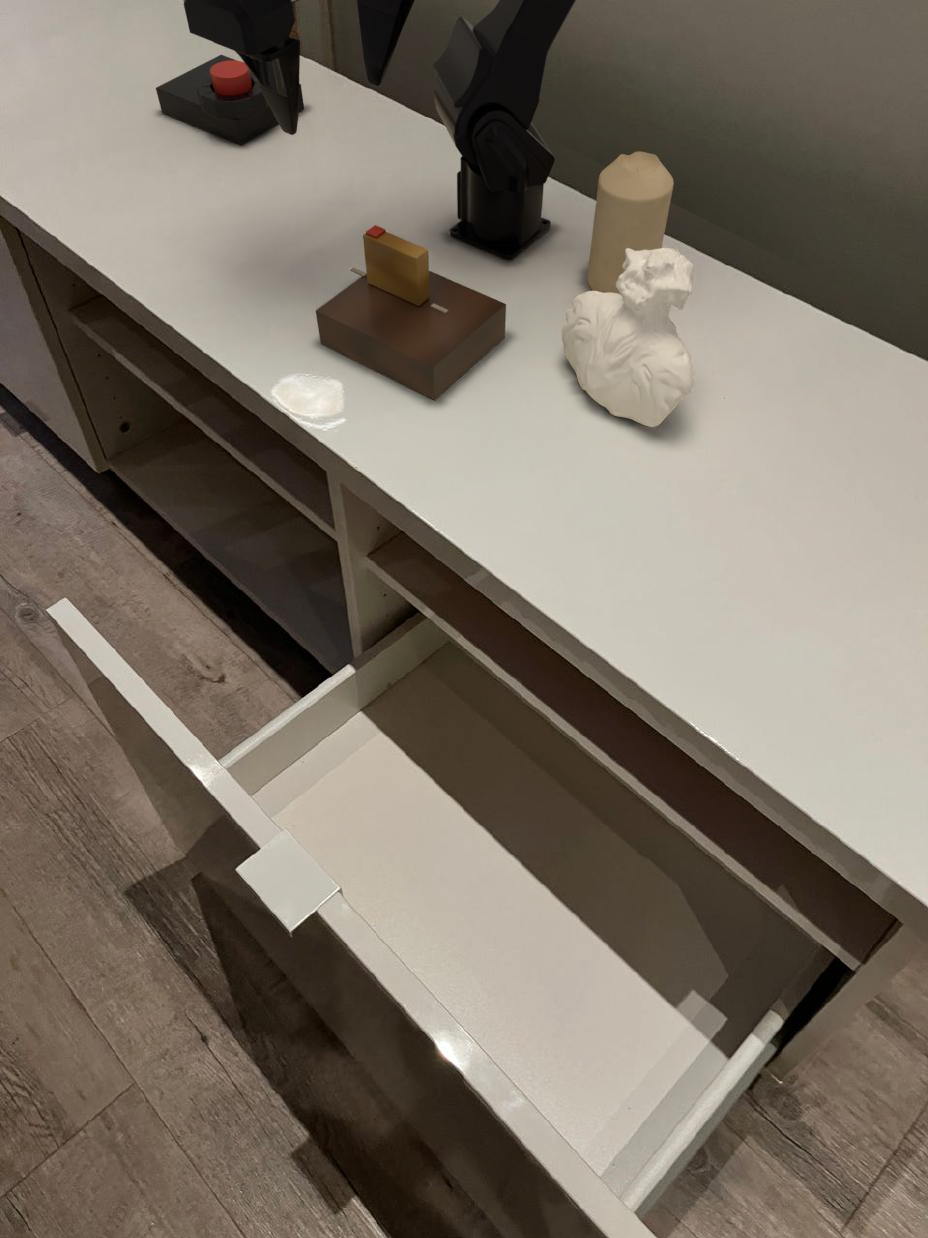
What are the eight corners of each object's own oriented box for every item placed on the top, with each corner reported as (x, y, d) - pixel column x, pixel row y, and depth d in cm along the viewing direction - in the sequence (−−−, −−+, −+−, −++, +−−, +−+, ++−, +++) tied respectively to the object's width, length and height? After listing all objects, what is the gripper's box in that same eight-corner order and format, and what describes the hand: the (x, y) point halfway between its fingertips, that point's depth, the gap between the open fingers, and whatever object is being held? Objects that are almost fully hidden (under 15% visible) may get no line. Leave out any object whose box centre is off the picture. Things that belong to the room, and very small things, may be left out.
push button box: (310, 111, 92) (304, 68, 89) (241, 151, 88) (232, 107, 84) (226, 78, 96) (217, 36, 93) (156, 115, 92) (144, 72, 88)
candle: (632, 310, 73) (653, 188, 65) (573, 285, 75) (587, 163, 67) (667, 277, 76) (691, 156, 67) (609, 254, 77) (626, 133, 69)
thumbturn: (430, 297, 69) (428, 245, 66) (418, 306, 68) (416, 254, 65) (378, 274, 71) (374, 222, 67) (367, 283, 70) (361, 231, 67)
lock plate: (505, 337, 71) (506, 301, 68) (434, 400, 67) (433, 365, 64) (383, 282, 75) (380, 246, 73) (309, 338, 71) (303, 303, 68)
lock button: (260, 86, 87) (256, 66, 86) (233, 101, 86) (229, 81, 84) (233, 75, 89) (229, 56, 87) (205, 90, 87) (201, 70, 86)
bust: (677, 455, 66) (779, 316, 62) (623, 441, 61) (730, 286, 56) (572, 367, 72) (657, 233, 67) (514, 346, 66) (602, 198, 62)
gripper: (312, -221, 62) (339, 34, 75) (90, -149, 54) (163, 124, 66) (440, -192, 58) (445, 72, 71) (222, -109, 50) (273, 174, 62)
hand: (333, 107), depth 68 cm, fingers open, 9 cm apart
